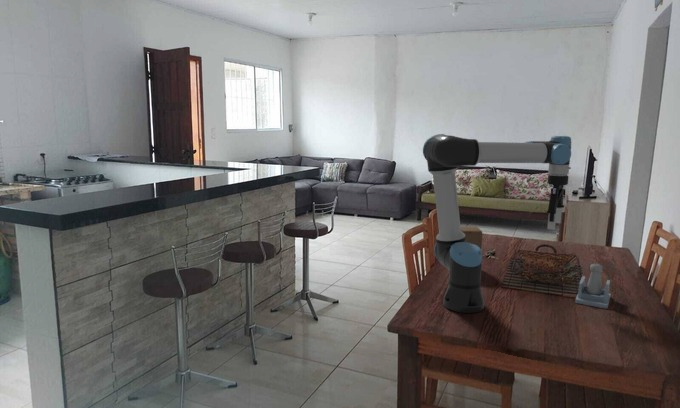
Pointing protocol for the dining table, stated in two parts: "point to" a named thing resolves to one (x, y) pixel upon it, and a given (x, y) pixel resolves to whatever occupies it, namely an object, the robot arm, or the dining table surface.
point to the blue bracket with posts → (593, 296)
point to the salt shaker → (595, 280)
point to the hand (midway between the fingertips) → (554, 226)
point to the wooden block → (472, 235)
